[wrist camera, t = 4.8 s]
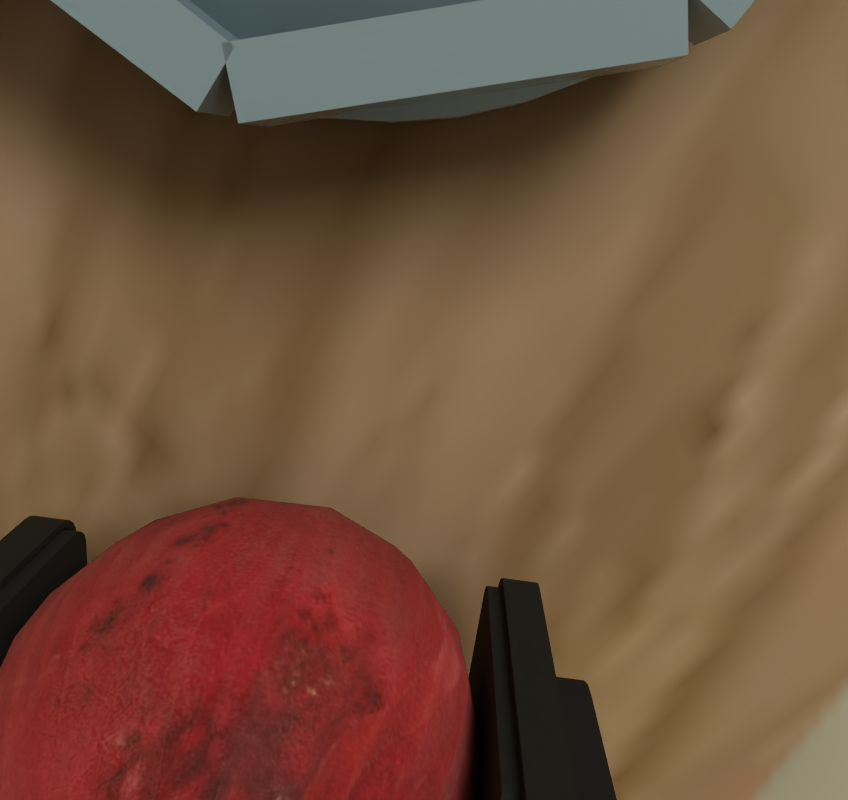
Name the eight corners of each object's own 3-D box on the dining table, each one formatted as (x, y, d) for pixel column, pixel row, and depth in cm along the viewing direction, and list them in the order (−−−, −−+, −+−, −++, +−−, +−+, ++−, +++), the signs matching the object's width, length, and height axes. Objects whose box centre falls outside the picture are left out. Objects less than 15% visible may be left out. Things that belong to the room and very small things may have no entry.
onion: (229, 346, 11) (-273, 796, 3) (537, 526, 12) (689, 1210, 4) (84, 610, 13) (-455, 1292, 5) (361, 750, 14) (247, 1510, 6)
